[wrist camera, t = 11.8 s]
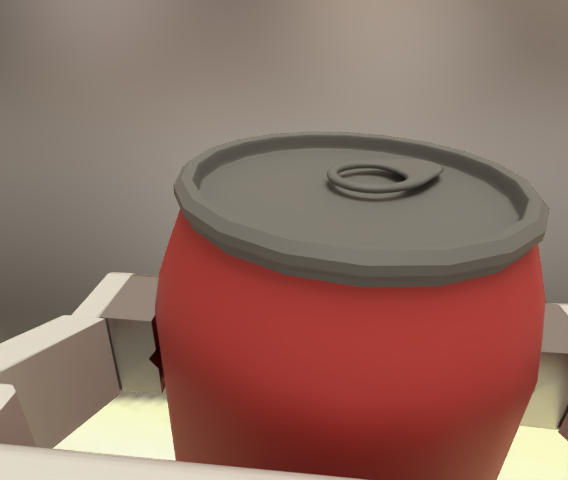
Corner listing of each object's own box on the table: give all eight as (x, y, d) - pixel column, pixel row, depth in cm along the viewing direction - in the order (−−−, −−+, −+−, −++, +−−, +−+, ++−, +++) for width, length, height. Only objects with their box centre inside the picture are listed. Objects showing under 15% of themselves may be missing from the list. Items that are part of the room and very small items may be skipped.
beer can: (481, 620, 11) (697, 206, 6) (263, 834, 8) (272, 389, 3) (334, 433, 16) (372, 116, 11) (165, 522, 13) (97, 144, 8)
